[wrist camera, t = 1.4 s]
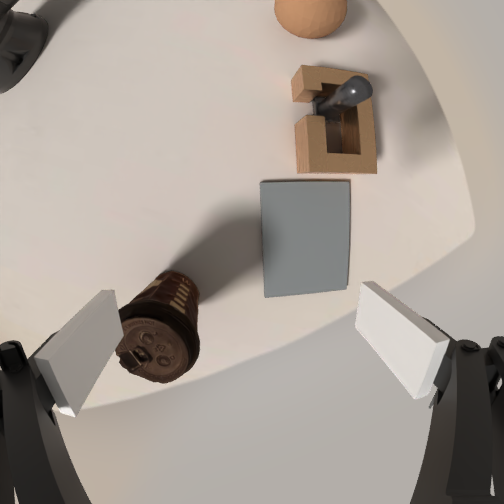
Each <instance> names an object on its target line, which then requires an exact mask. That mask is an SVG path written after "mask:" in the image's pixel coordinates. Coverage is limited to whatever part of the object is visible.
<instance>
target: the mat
mask: <svg viewBox="0 0 504 504" xmlns="http://www.w3.org/2000/svg"><path fill="white" fill-rule="evenodd" d="M260 198H261V221H262V245H263V271H264V296H265V298H269V297H280V296H290V295H300V294H310V293H319V292H328V291H337V290H345V289H347V274H348V256H349V222H350V194H349V182H269V183H260Z"/></svg>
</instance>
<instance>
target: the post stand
mask: <svg viewBox="0 0 504 504" xmlns="http://www.w3.org/2000/svg"><path fill="white" fill-rule="evenodd" d="M372 93H373V90H372V86H371V84H370V82H369V81H368V80H367V79H366V78H364V77H362V76H358V75H356V76H353V77H351V78H350V79H349V80H347V81H346V82H345V83H343V84H342V85H341V86H340V87H338V88H337V89H336V90H334V91H333V92H332V93H331V94H329V95H328V96H327V97H326V98H320V97H314V98H313V99H312V101H313V112H314V116H325V122H328V123H338V122H340V116H339V114H341V113H343V112H345V111H346V110H348V109H350V108H352V107H354V106H356V105H357V104H359V103H361V102H363V101H365V100H367V99H369V98H370V97H371V96H372Z"/></svg>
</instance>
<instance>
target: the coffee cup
mask: <svg viewBox="0 0 504 504" xmlns="http://www.w3.org/2000/svg"><path fill="white" fill-rule="evenodd" d="M198 300H199V291H198V289H197V287H196V285H195V284H194V283H193V281H192V280H191V279H189V278H188V277H187V276H185V275H184V274H181V273H179V272H175V271H169V272H166V273H162V274H160V275H159V276H158V277H156V279H155V280H154V281H153V282H152V283H150V284H149V285H148V286H147V287H146V288H145V289H144V290H143V291H142V292H141V293H140V294H138V295H137V296H136V297H135V298H134V299H133V300H132V301H131V302H130V303H129V304H127V305H125V306H124V307H122V308H121V309H119V310H118V312H119V317H120V321H121V326H122V330H123V334H124V336H123V338H122V339H121V341H120V342H119V344H118V346H117V347H116V349H115V351H116V355H117V356H119V357H120V361H119V363H120V364H121V366H122V367H123V368H125V369H127V370H128V372H129V373H132V374H134V375H137V376H140V377H142V378H145V379H147V380H149V381H152V382H159V383H163V384H164V383H168V382H172V381H174V380H176V379H177V378H179V377H180V376H182V375H183V374H184V373H186V372H187V371H189V370H190V369H191V368H192V367H193V365H194V364H195V362H196V360H197V359H198V356H199V351H200V340H199V335H198V332H197V322H198Z"/></svg>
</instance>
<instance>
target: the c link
mask: <svg viewBox="0 0 504 504" xmlns="http://www.w3.org/2000/svg"><path fill="white" fill-rule="evenodd" d="M356 75H358V76H362V77H364V78H366V79H367V80H368V81H369V79H368V74H363V73H358V72H352V71H346V70H340V69H333V68H325V67H317V66H307V65H301V66H300V68H299V69H298V71H297V72H296V74H295V75H294V77H293V78H292V80H291V85H292V97H293V102H306V103H309V102H310V101H311V100H312V99H313V98H314V97H316V96H321V97H327V96H328V95H329V94H331V93H332V92H333V91H334V90H336V89H337V88H338V87H340V86H341V85H342V84H343V83H345V82H346V81H347V80H349V79H350V78H351V77H353V76H356ZM340 123H341V136H342V152H343V154H339V153H327V143H326V128H325V116H313V115H306V116H305V117H303V118H302V119H301V120H300V121H298V122H297V123H296V124H295V139H296V157H297V173H329V174H377V157H376V141H375V128H374V118H373V109H372V100H371V97H370V98H369V99H367V100H365V101H363V102H361V103H359V104H357V105H356V106H354V107H352V108H350V109H348V110H346V111H345V112H343V113H341V114H340Z"/></svg>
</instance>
